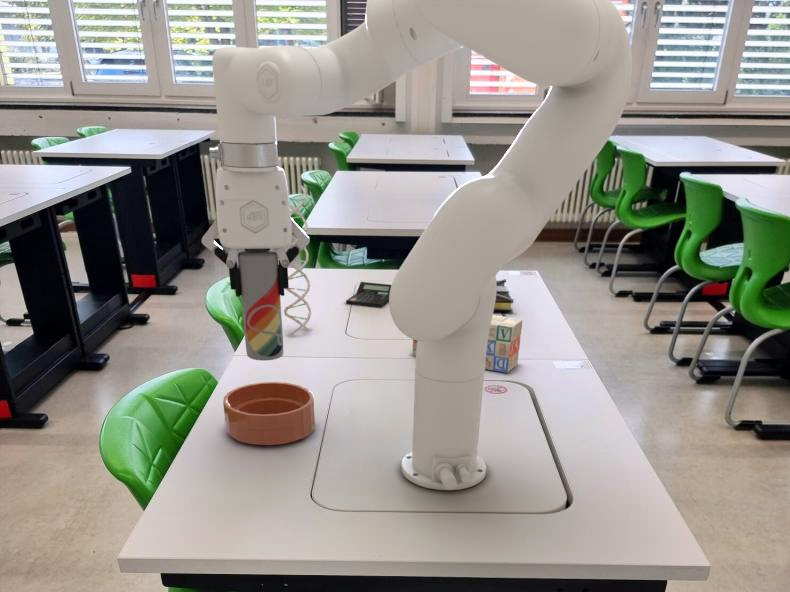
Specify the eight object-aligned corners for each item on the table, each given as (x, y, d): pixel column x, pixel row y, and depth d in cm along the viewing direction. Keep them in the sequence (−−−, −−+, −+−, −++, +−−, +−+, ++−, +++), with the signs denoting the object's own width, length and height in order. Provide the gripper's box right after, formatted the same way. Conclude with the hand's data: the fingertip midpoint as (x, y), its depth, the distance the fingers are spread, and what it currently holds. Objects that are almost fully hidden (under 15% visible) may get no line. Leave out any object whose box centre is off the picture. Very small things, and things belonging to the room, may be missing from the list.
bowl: (317, 446, 115) (316, 413, 112) (225, 450, 113) (221, 417, 110) (311, 410, 127) (310, 380, 124) (228, 414, 124) (224, 383, 122)
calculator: (346, 303, 185) (346, 291, 183) (361, 293, 194) (361, 281, 193) (381, 307, 183) (381, 295, 181) (394, 296, 192) (395, 284, 191)
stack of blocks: (518, 365, 149) (525, 304, 142) (507, 374, 144) (514, 311, 138) (424, 347, 157) (426, 288, 150) (411, 355, 152) (413, 295, 146)
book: (442, 290, 199) (443, 271, 196) (504, 292, 198) (506, 273, 196) (445, 312, 180) (446, 291, 178) (513, 314, 180) (515, 294, 177)
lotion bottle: (276, 362, 110) (266, 220, 99) (241, 359, 111) (227, 218, 100) (288, 351, 115) (280, 214, 104) (254, 347, 116) (243, 211, 105)
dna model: (299, 326, 168) (291, 183, 152) (318, 332, 164) (313, 186, 148) (277, 333, 163) (267, 185, 147) (297, 339, 160) (289, 189, 144)
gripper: (181, 159, 94) (199, 302, 104) (315, 160, 96) (320, 299, 106) (186, 154, 100) (202, 288, 110) (311, 155, 103) (316, 286, 112)
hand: (260, 292), depth 108 cm, fingers closed on lotion bottle, 5 cm apart
